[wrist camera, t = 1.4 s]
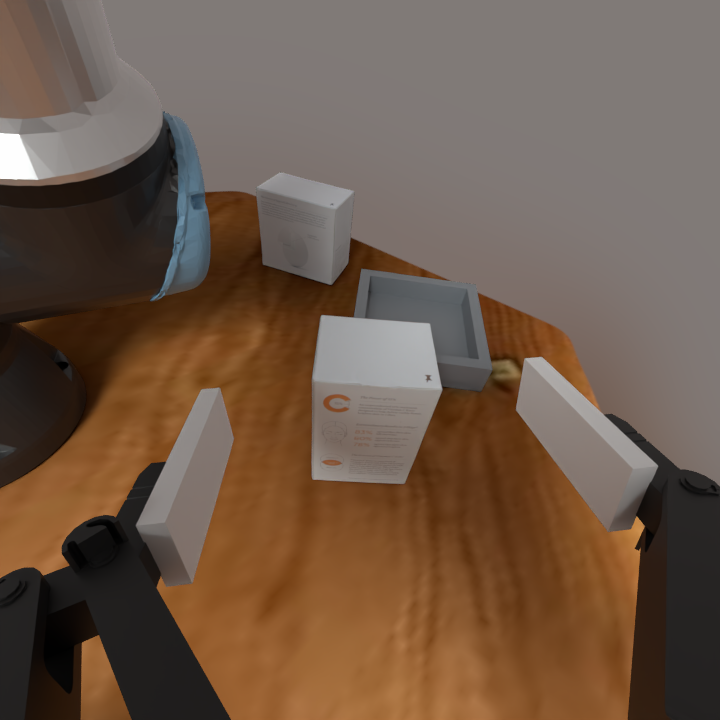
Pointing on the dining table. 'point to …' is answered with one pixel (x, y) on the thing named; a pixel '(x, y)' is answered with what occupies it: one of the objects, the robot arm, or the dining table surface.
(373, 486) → the dining table surface
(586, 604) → the dining table surface
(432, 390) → the small box
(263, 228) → the skincare box
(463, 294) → the tray
